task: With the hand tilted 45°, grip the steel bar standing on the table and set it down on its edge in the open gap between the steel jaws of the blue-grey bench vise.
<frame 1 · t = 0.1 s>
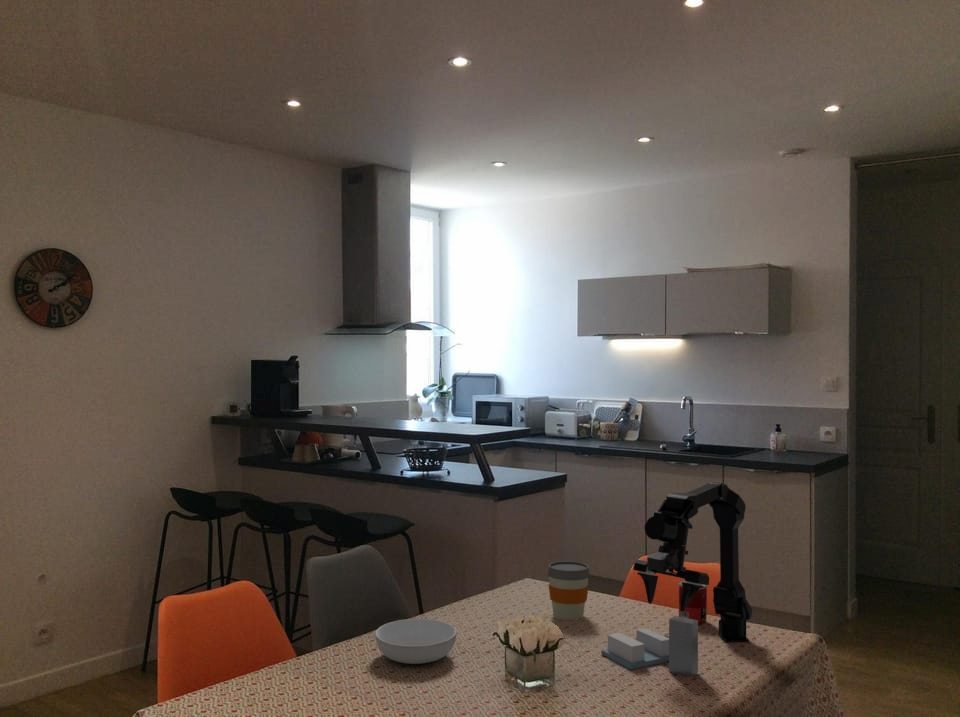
hand: (665, 607, 205), 15 cm above the table, tool pointing down, fingers open, 9 cm apart
canned food: (692, 621, 244), on the table
serving bowl: (415, 658, 211), on the table
steel bar: (683, 672, 203), on the table
reusable coffee cup: (568, 616, 248), on the table
vise: (640, 656, 213), on the table
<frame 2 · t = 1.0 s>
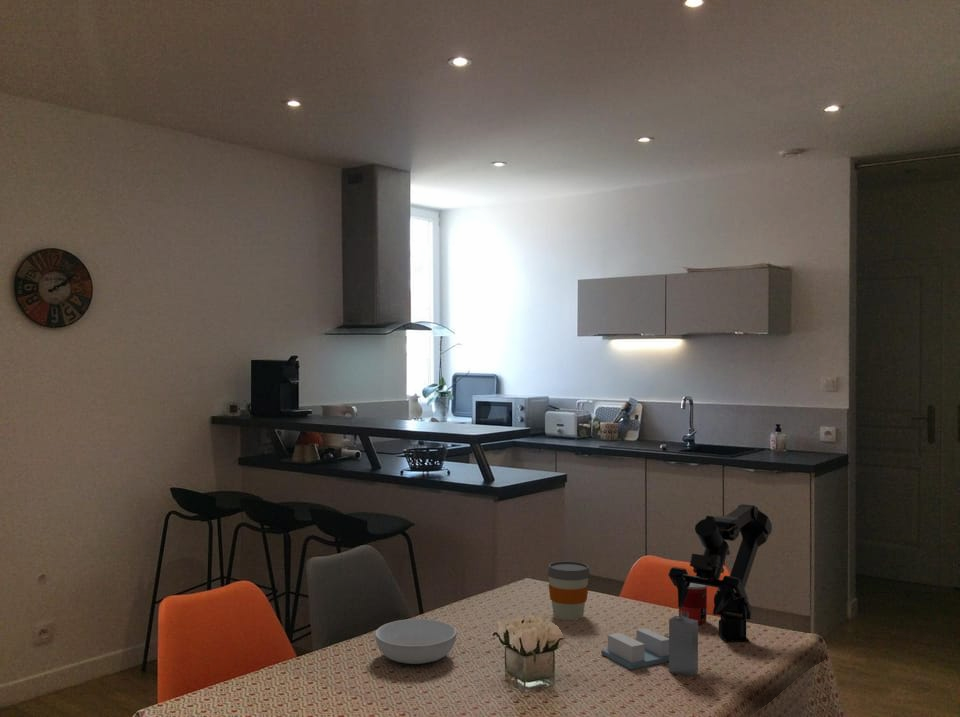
hand: (696, 610, 209), 13 cm above the table, tool tilted 45°, fingers open, 9 cm apart
nothing on the table moved.
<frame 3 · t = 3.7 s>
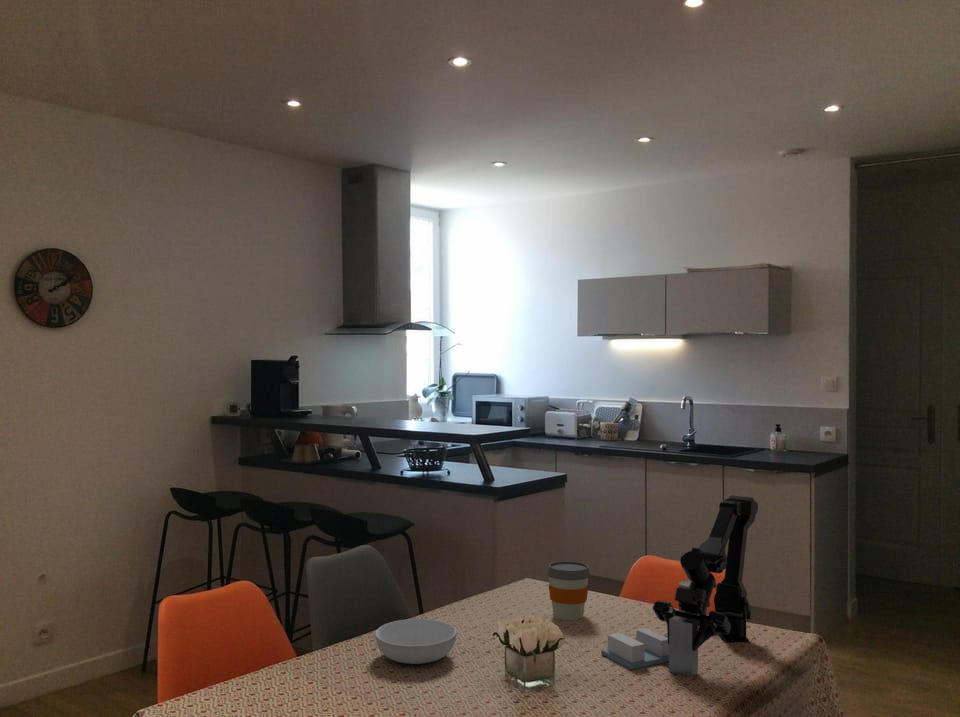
hand: (681, 647, 201), 7 cm above the table, tool tilted 45°, fingers closed on steel bar, 6 cm apart
steel bar: (683, 672, 203), on the table, touching gripper
everything else where it was.
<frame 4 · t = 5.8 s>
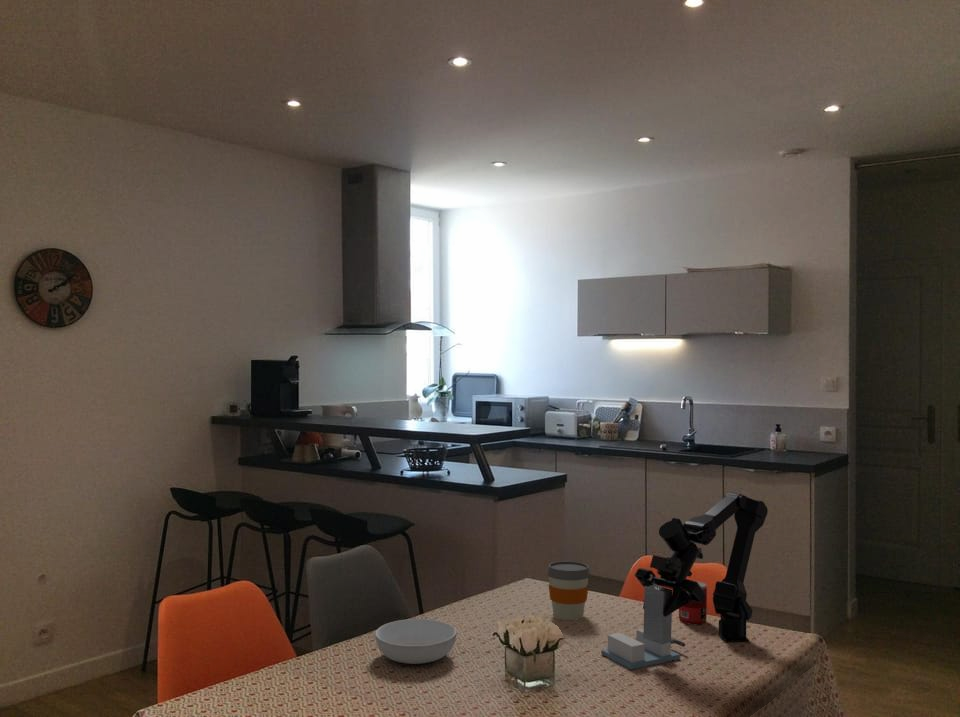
hand: (654, 612, 207), 13 cm above the table, tool tilted 45°, fingers closed on steel bar, 6 cm apart
steel bar: (657, 640, 208), point 6 cm above the table, touching gripper
everything else where it was.
when the fingers open (9 cm above the table, at t = 7.7 s): steel bar stays where it is, resting on vise.
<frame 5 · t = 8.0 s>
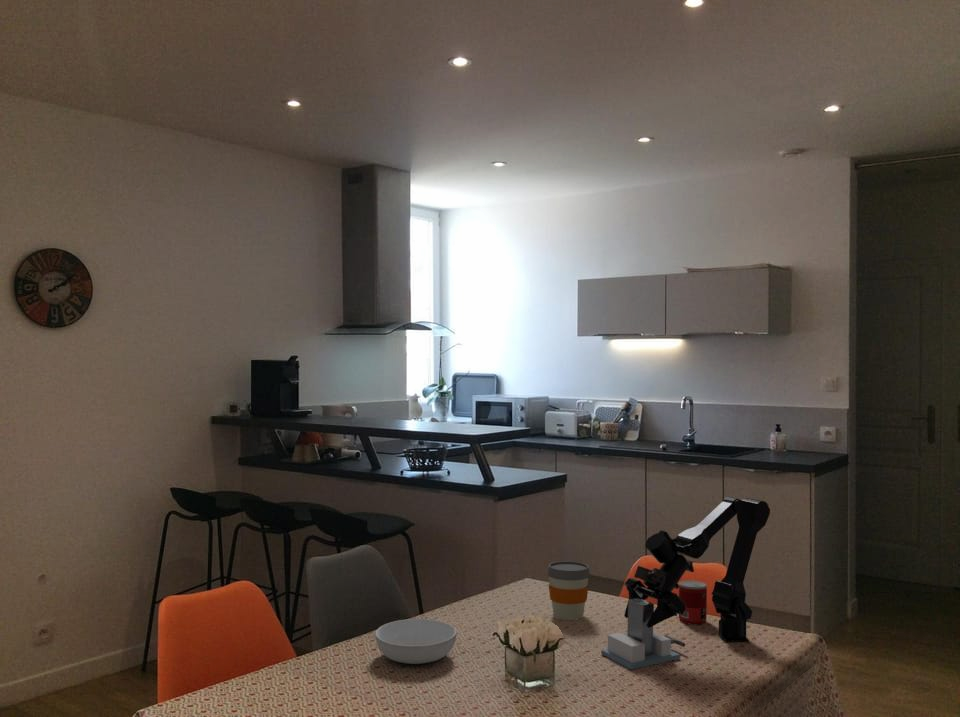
hand: (636, 621, 213), 9 cm above the table, tool tilted 45°, fingers open, 9 cm apart
steel bar: (639, 652, 213), point 1 cm above the table, touching vise
everything else where it was.
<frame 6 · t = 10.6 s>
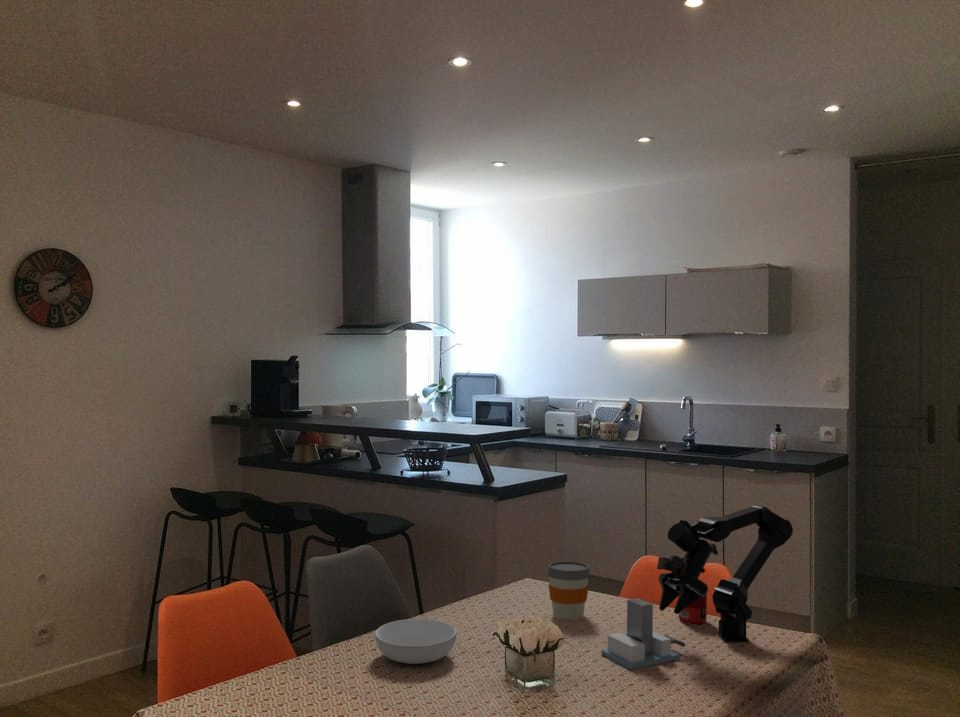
hand: (667, 611, 218), 10 cm above the table, tool tilted 35°, fingers open, 9 cm apart
nothing on the table moved.
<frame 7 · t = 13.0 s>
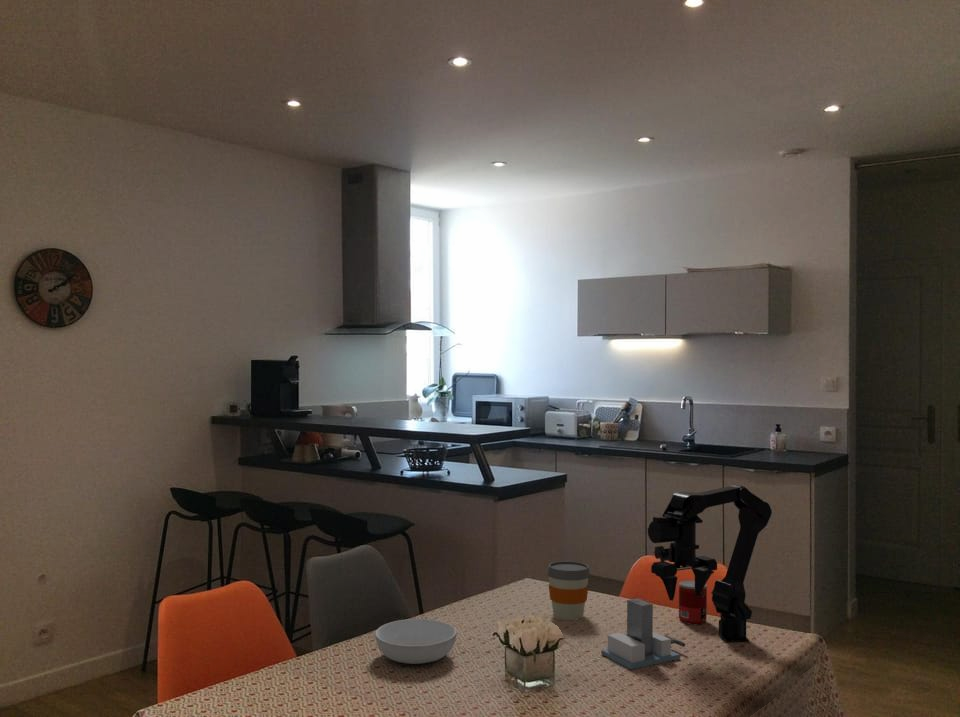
hand: (684, 598, 222), 13 cm above the table, tool pointing down, fingers open, 9 cm apart
nothing on the table moved.
at the end: steel bar 0.3 cm off-centre on the vise, point 1.2 cm above the vise's base; steel bar tilted 0°; the gripper is holding nothing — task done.
